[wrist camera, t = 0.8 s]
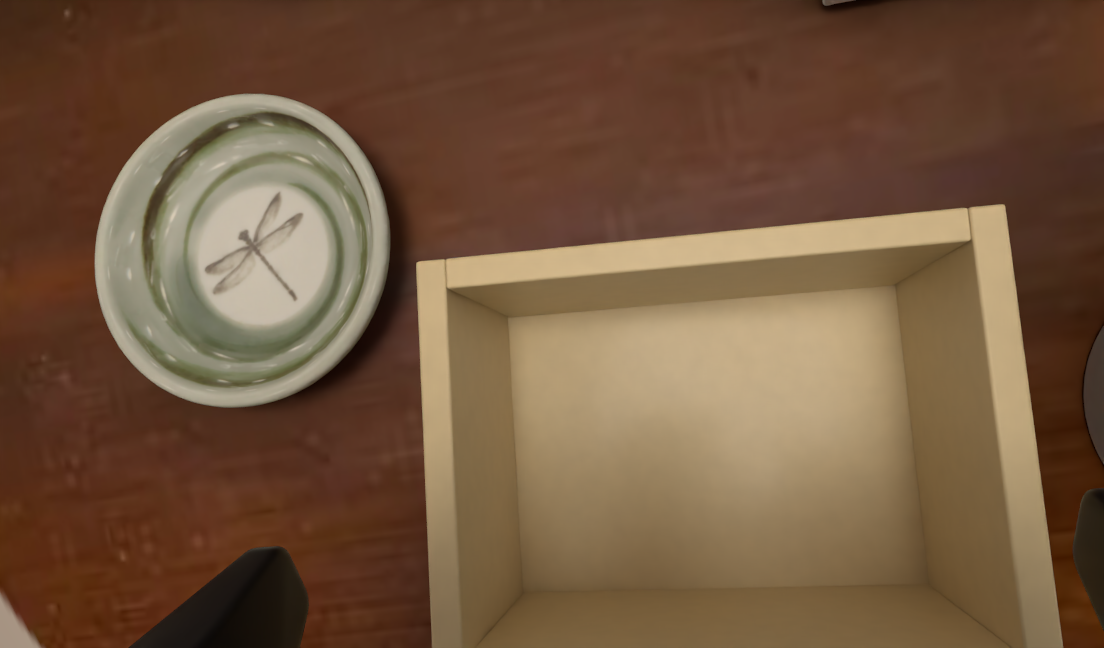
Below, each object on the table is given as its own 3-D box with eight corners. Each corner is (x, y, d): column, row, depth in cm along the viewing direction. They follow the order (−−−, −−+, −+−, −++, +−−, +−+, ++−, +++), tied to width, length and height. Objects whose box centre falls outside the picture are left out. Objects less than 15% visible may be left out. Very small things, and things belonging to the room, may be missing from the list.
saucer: (299, 467, 25) (257, 474, 22) (94, 298, 26) (36, 288, 24) (472, 220, 24) (448, 200, 22) (253, 68, 26) (210, 34, 24)
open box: (490, 300, 24) (414, 261, 17) (911, 262, 22) (1005, 202, 15) (506, 611, 23) (432, 694, 16) (951, 603, 21) (1071, 695, 14)
